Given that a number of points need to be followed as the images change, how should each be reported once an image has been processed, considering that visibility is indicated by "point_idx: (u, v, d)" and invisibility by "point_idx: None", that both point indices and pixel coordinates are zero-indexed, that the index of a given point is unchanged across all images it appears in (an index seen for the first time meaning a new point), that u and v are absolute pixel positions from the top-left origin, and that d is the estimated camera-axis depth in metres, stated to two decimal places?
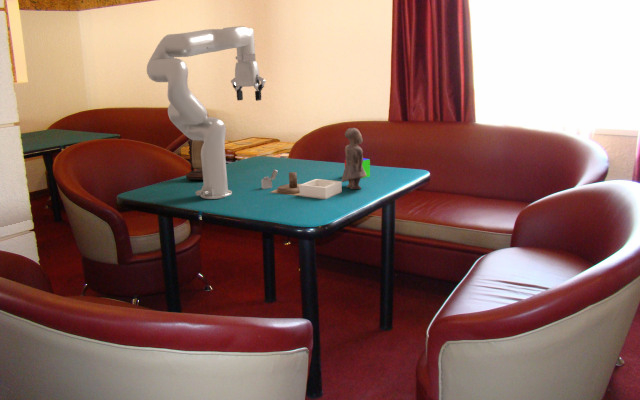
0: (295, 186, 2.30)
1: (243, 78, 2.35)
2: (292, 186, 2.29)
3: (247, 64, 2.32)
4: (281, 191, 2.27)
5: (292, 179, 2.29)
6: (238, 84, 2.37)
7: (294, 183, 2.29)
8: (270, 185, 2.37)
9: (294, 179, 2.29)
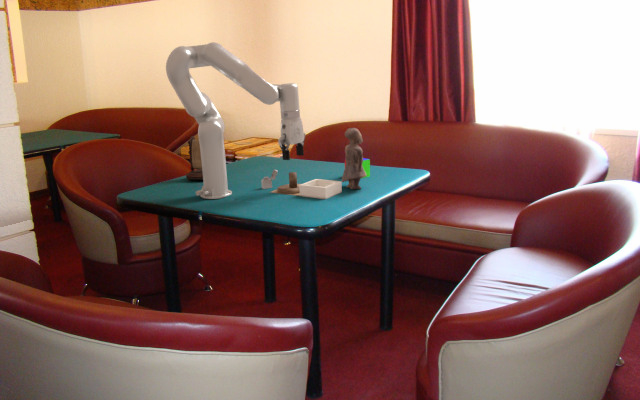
0: (295, 186, 2.30)
1: (297, 135, 2.24)
2: (292, 186, 2.29)
3: (299, 119, 2.25)
4: (281, 191, 2.27)
5: (292, 179, 2.29)
6: (293, 142, 2.22)
7: (294, 183, 2.29)
8: (270, 185, 2.36)
9: (294, 179, 2.29)
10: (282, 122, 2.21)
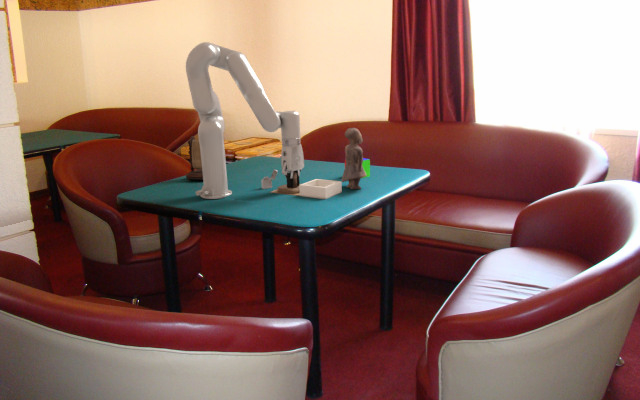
0: (295, 186, 2.30)
1: (297, 162, 2.27)
2: None
3: (299, 146, 2.27)
4: (281, 191, 2.27)
5: None
6: (293, 169, 2.25)
7: (294, 183, 2.29)
8: (270, 185, 2.37)
9: (294, 179, 2.29)
10: (283, 149, 2.24)
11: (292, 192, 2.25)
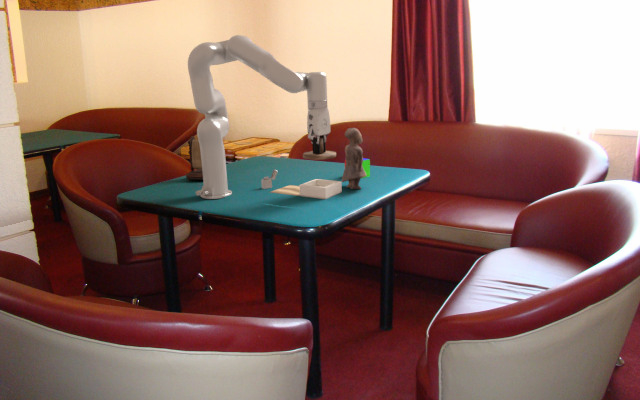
0: (321, 152, 2.18)
1: (324, 126, 2.15)
2: None
3: (326, 110, 2.15)
4: (307, 157, 2.15)
5: None
6: (320, 133, 2.13)
7: (320, 149, 2.17)
8: (270, 185, 2.37)
9: (320, 144, 2.17)
10: (309, 112, 2.12)
11: (319, 158, 2.13)
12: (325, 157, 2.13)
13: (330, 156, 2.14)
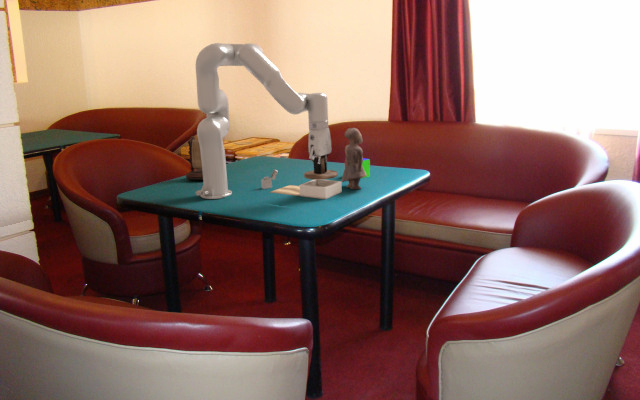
0: (323, 172, 2.20)
1: (325, 146, 2.17)
2: None
3: (327, 130, 2.17)
4: (308, 177, 2.17)
5: None
6: (321, 153, 2.15)
7: (322, 168, 2.19)
8: (270, 185, 2.37)
9: (322, 164, 2.19)
10: (310, 133, 2.14)
11: (320, 178, 2.15)
12: (326, 177, 2.15)
13: (331, 176, 2.16)
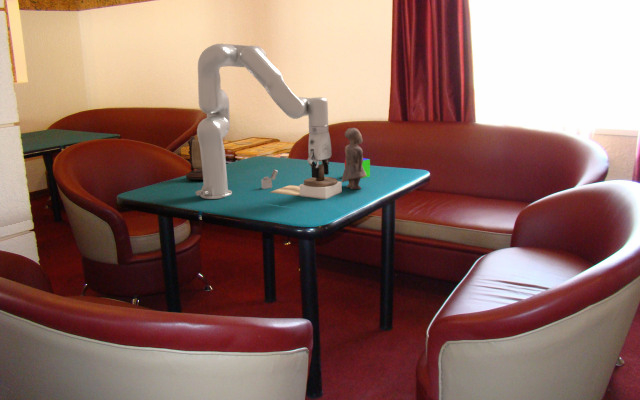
0: (322, 179, 2.20)
1: (325, 150, 2.17)
2: (319, 179, 2.20)
3: (327, 135, 2.18)
4: (308, 184, 2.17)
5: (319, 172, 2.19)
6: (321, 158, 2.15)
7: (321, 176, 2.20)
8: (270, 185, 2.37)
9: (321, 172, 2.19)
10: (310, 137, 2.14)
11: (320, 185, 2.15)
12: (326, 184, 2.16)
13: (331, 183, 2.17)
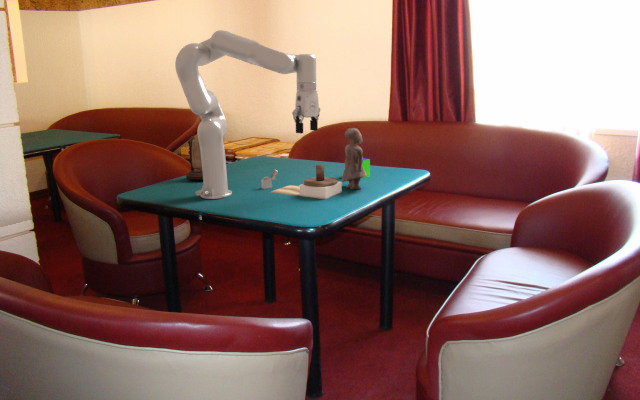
0: (322, 179, 2.20)
1: (312, 108, 2.17)
2: (319, 179, 2.20)
3: (315, 92, 2.18)
4: (308, 184, 2.17)
5: (319, 172, 2.19)
6: (308, 115, 2.15)
7: (321, 176, 2.20)
8: (270, 185, 2.37)
9: (321, 172, 2.19)
10: (298, 94, 2.14)
11: (320, 185, 2.15)
12: (326, 184, 2.16)
13: (331, 183, 2.17)
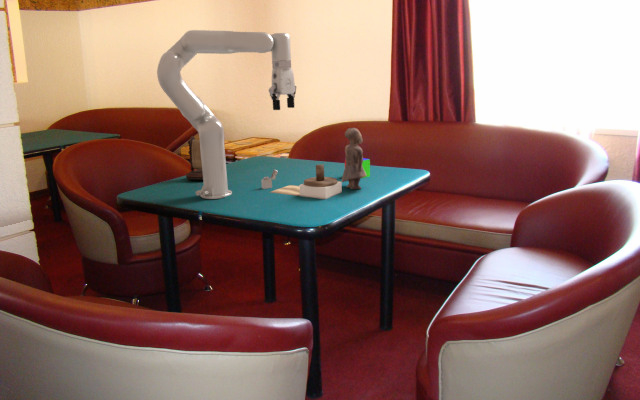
0: (322, 179, 2.20)
1: (288, 85, 2.24)
2: (319, 179, 2.20)
3: (290, 70, 2.25)
4: (308, 184, 2.17)
5: (319, 172, 2.19)
6: (284, 92, 2.23)
7: (321, 176, 2.20)
8: (270, 185, 2.37)
9: (321, 172, 2.19)
10: (273, 71, 2.21)
11: (320, 185, 2.15)
12: (326, 184, 2.16)
13: (331, 183, 2.17)
